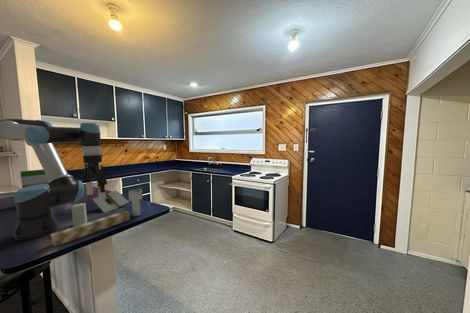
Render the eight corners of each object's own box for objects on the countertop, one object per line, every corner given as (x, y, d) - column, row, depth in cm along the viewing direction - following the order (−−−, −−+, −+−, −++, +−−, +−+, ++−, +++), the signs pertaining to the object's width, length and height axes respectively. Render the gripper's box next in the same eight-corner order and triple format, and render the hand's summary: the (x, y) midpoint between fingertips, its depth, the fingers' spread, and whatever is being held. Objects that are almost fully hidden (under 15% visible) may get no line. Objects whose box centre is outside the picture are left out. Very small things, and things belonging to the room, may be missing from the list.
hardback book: (24, 206, 133) (20, 172, 131) (24, 204, 138) (20, 171, 136) (59, 200, 146) (55, 169, 144) (57, 198, 151) (54, 168, 149)
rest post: (73, 227, 100) (71, 207, 99) (75, 224, 105) (73, 204, 104) (85, 225, 103) (83, 205, 102) (87, 222, 107) (85, 202, 106)
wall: (127, 208, 138) (115, 193, 142) (130, 201, 134) (117, 186, 137) (102, 220, 124) (90, 203, 128) (104, 213, 120) (91, 196, 123)
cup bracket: (130, 217, 112) (128, 193, 110) (130, 213, 118) (128, 190, 117) (143, 215, 115) (142, 191, 114) (142, 211, 122) (141, 188, 120)
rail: (54, 247, 83) (53, 236, 83) (51, 244, 85) (50, 234, 84) (129, 220, 109) (128, 211, 109) (126, 218, 111) (125, 210, 111)
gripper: (113, 155, 92) (116, 198, 94) (90, 153, 105) (93, 191, 107) (95, 156, 85) (99, 203, 88) (73, 154, 99) (76, 194, 101)
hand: (95, 196), depth 97 cm, fingers open, 13 cm apart
